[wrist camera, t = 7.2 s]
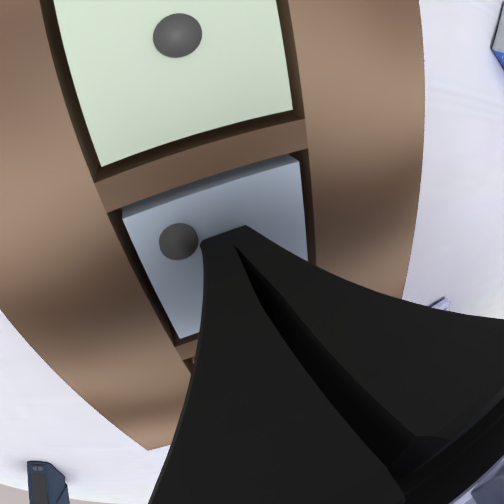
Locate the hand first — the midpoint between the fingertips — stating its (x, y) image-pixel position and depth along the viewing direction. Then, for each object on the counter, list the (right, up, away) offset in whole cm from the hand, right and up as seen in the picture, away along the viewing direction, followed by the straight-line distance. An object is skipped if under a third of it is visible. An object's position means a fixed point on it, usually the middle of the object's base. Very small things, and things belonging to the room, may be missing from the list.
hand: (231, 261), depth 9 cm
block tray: (-1, +2, +2) cm, 3 cm away
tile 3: (-1, +1, +2) cm, 2 cm away
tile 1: (-2, +6, -2) cm, 6 cm away
